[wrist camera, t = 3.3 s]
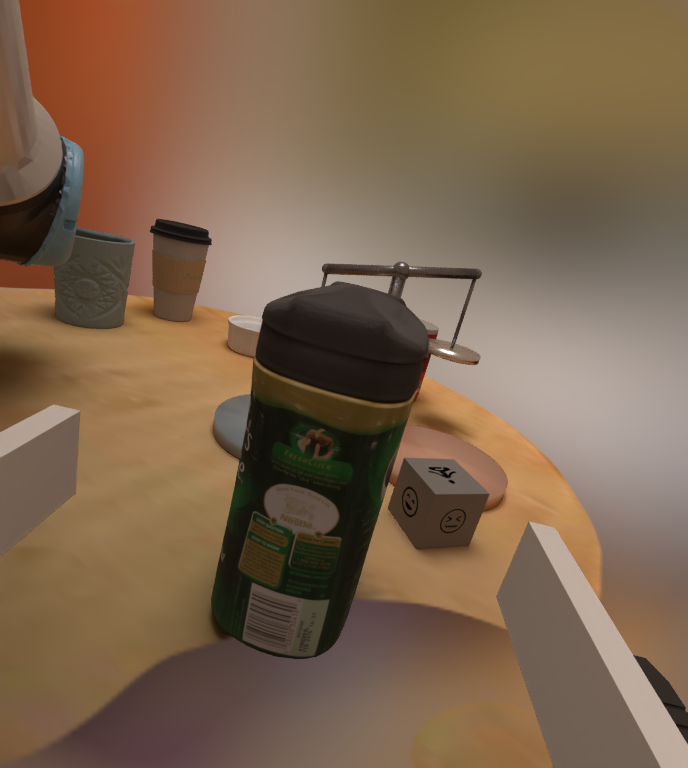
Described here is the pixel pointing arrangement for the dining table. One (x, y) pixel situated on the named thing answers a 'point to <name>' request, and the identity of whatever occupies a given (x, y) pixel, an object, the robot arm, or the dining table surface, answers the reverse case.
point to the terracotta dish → (450, 447)
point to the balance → (396, 287)
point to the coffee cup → (177, 267)
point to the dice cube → (437, 502)
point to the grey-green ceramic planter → (94, 280)
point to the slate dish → (231, 423)
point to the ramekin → (244, 334)
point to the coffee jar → (315, 463)
